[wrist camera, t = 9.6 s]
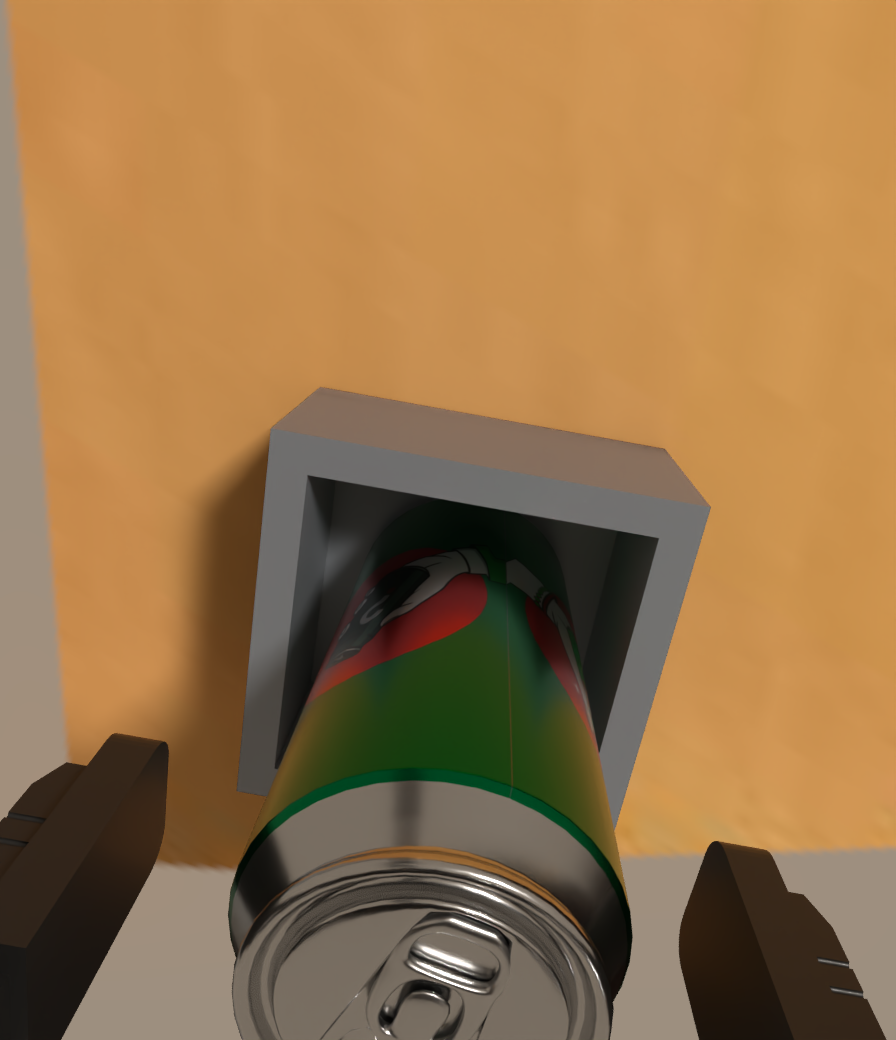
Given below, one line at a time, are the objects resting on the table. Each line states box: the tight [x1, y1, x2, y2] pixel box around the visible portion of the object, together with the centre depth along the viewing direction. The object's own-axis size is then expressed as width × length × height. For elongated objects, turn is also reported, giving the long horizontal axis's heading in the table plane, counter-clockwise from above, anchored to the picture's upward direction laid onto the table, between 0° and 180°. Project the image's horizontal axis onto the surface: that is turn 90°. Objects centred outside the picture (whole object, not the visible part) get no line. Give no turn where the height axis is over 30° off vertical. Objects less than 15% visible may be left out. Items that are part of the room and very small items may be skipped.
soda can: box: [228, 499, 632, 1040], centre depth 15 cm, size 5×5×12 cm
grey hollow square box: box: [237, 387, 711, 831], centre depth 19 cm, size 9×9×4 cm
